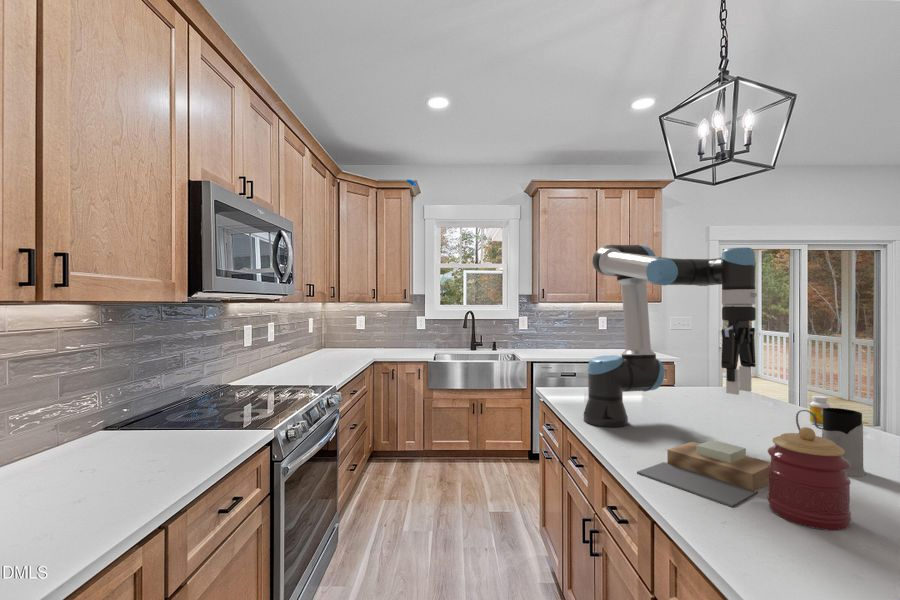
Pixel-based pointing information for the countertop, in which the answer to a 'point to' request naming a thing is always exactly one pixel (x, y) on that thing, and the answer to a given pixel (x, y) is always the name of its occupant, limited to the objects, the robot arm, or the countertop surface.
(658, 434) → the countertop surface
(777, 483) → the canister
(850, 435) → the glass holder
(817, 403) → the supplement bottle
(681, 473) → the mat
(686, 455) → the plate
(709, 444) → the coaster
